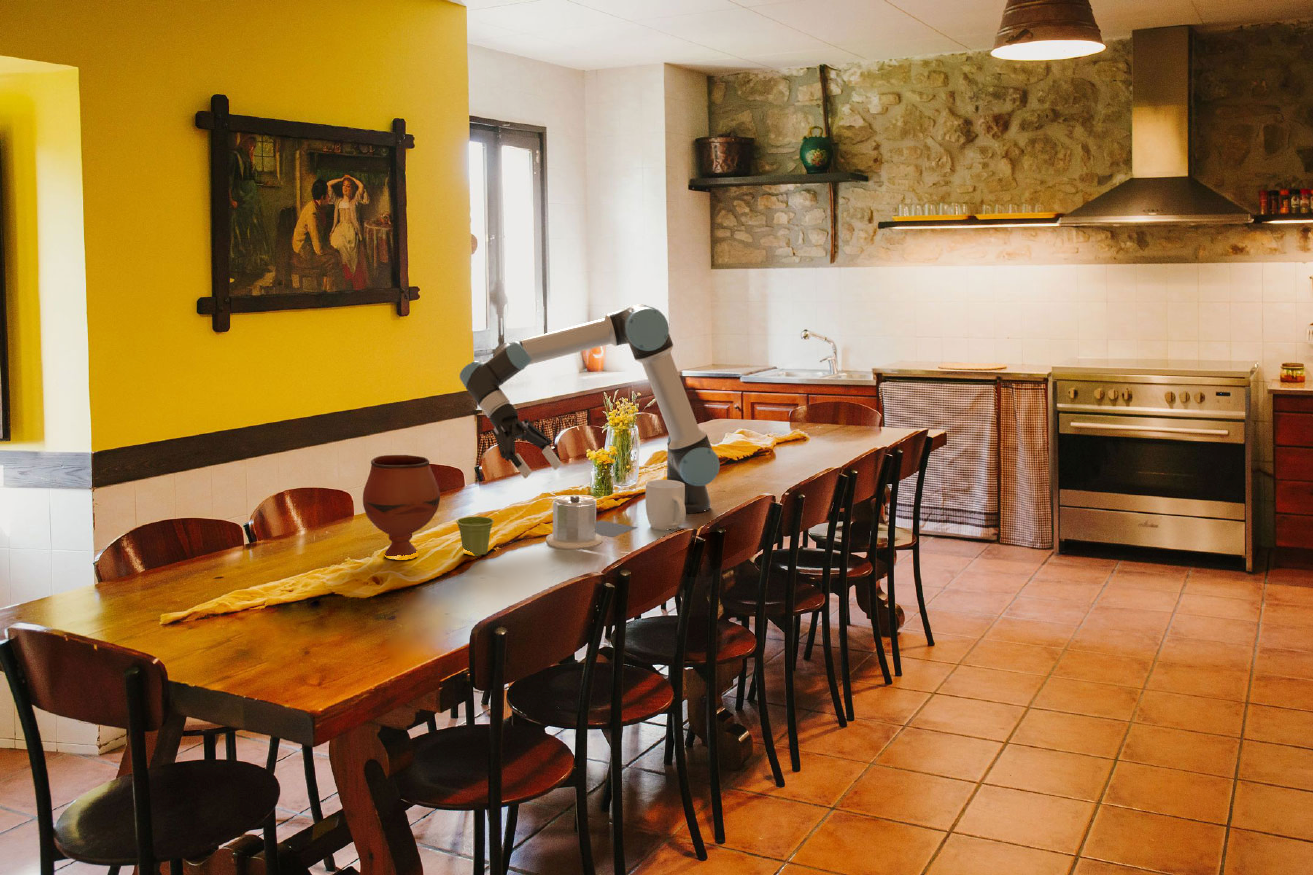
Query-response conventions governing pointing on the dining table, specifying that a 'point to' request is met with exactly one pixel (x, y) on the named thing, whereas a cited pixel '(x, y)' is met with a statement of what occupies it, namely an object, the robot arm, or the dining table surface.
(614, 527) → the mat
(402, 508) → the goblet
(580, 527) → the cover
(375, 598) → the dining table surface
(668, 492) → the mug
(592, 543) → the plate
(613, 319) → the robot arm
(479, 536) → the plant pot
